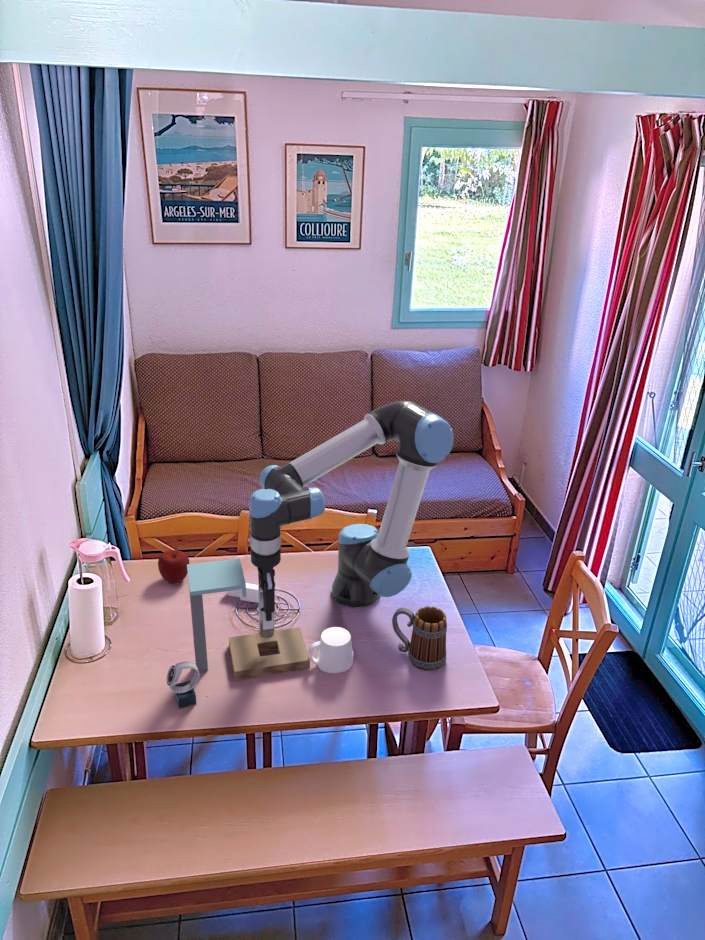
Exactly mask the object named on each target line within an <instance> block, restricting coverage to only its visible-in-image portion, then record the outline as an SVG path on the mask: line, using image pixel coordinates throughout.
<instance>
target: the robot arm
mask: <svg viewBox="0 0 705 940" xmlns="http://www.w3.org/2000/svg"><path fill="white" fill-rule="evenodd" d="M454 437H455V436H454V430H453V428H452V426H451V424H450V423H449V422H448V421H446V420H445V419H444V418H443V417H441V415H439V414H436V413H434V412H432V411H430V410H429V409H426V408H425V407H423V406H421V405H420V404H418V403H417V402H414V401H411V400H398V401H393V402H390V403H387V404H384V405H381V406H379V407H377V408H374V409H373V410H371V411H370V412H367V413H366V414H364V417H363V419H362V420H361V421H359V422H357V423H355V425H352V426H351V427H349V428H348V429H345V430H344V431H342V432H340V433H339V434H336V435H335V436H334V437H331V438H329V439H328V440H327V441H325V442H323V443H321V444H320V445H317V446H316V447H314V448H312V449H311V450H309V451H308V452H305V453H304V454H302V455H300V456H299V457H297V458H296V459H293V460H292V461H290V462H288V463H286V464H284V465H283V466H278V465H276V464H272V465H268V466H266V467H265V468H263V470H262V471H261V472H260V475H259V479H258V481H259V485H260V487H261V488H260V489H257V490H255V491H253V493H251V494H250V498H249V508H248V512H249V526H250V528H249V529H250V531H249V533H250V534H249V535H250V537H249V538H247V540H248V541H247V542H249V543H250V562H251V564H252V565H253V566H254V567H256V569H257V572H258V573H257V574H258V575H257V576H258V585H259V587H258V589H259V588H261V587H263V606H264V608H261V612H262V611H263V630H266V629H273V628H274V629H275V616H274V617H273V612H274V613H276V608H275V606H276V600H275V599H276V598H275V597H276V595H275V592H276V588H275V587H276V581H275V576H276V571H275V568H276V567H277V566H278V565H279V564H280V562H281V561H282V560H281V559H282V558H281V557H282V555H281V554H282V552H281V551H282V549H281V547H282V541H281V540H282V537H281V536H282V533H281V532H282V531H281V529H282V527H283V526H287V525H290V524H293V523H298V522H303V521H307V520H311V519H313V518H316V517H317V518H318V517H319V516H321V515H323V514H324V512H325V510H326V500H325V499H326V498H325V496H324V493H323V492H322V490H321V489H319V488H318V487H315V486H314V487H307V488H305V487H306V486H307V485H309V484H311V483H313V482H314V481H315V480H318V479H319V478H321V477H323V476H324V475H326V474H328V473H329V472H331V471H333V470H334V469H336V468H338V467H339V466H341V465H343V464H345V463H347V462H348V461H349V460H352V459H354V458H355V457H357V456H358V455H360V454H362V453H363V452H365V451H367V450H369V449H370V448H372V447H373V446H376V445H377V444H378V445H381V446H382V445H384V444H386V443H388V442H389V441H390V442H391V441H396V442H397V443H398V445H397V449H396V452H395V455H396V457H397V459H398V461H399V462H398V465H397V469H396V472H395V476H394V479H393V482H392V486H391V489H390V493H389V497H388V500H387V504H386V507H385V511H384V514H383V517H382V521H381V523H380V527H379V530H378V529H377V528H376V527H375V526H373V525H370V524H366V523H354V524H349V525H346V526H344V527H343V528H342V529H341V530H340V531H339V534H338V540H337V543H338V547H337V548H338V551H337V552H338V553H337V554H338V556H337V558H338V559H337V560H338V561H337V572H336V575H335V578H334V580H333V582H332V584H331V596H332V598H333V599H334V600H335V601H336V602H337V603H338V604H341V605H342V606H345V607H349V608H359V609H360V608H365V607H369V606H372V605H374V604H375V603H377V602H378V600H379V599H380V597H383V598H391V597H395V596H397V595H398V594H400V593H401V592H402V591H404V590H405V589H406V588H407V586H409V584H410V582H411V579H412V575H413V573H412V570H411V568H410V566H409V565H408V564H407V563H408V560H409V557H410V550H409V548H408V542H409V539H410V536H411V532H412V529H413V525H414V523H415V520H416V516H417V513H418V510H419V507H420V503H421V499H422V497H423V493H424V491H425V487H426V483H427V480H428V477H429V475H430V471H431V470H432V469H435V468H436V467H437V466H438V463H440V462H442V461H443V460H445V459H446V456H448V455H450V452H451V451H452V449H453V446H454V440H455V438H454Z"/></svg>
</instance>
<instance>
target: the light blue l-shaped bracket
mask: <svg viewBox="0 0 705 940" xmlns="http://www.w3.org/2000/svg"><path fill="white" fill-rule="evenodd" d="M187 570H188V573H187V578H188V588H189V590H188V591H189V600H190V610H191V611H190V613H191V623H192V634H193V635H192V637H193V648H194V658H195V660H194V661H195V665H196V666H197V668H198V671H199V673H200V672H205V671H206V672H207V671H209V665H208V651H207V639H206V638H207V637H206V636H207V635H206V625H205V614H204V600H203V599H204V597H203V595H208V594H216V593H217V594H218V593H224V592H227V591H232V590H240V589H242V594H243V597H246V583H247V582H246V579H245V575H244V571H243V565H242V562H241V558H231V559H223V560H212V561H206V562H199V563H198V562H197V563H189V564H187Z"/></svg>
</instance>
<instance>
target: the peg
mask: <svg viewBox="0 0 705 940" xmlns="http://www.w3.org/2000/svg"><path fill="white" fill-rule="evenodd" d="M258 598H259V603H258V631H259V632H258V633H259V635H260V636H261V637H262V638H271V637H272V636H273V635H274V631H275V627H274V628H273V629H266V630H263V611H262V612H261V608H264V606H263V587H261V588H259V590H258ZM273 617H274V618H275V612H273Z"/></svg>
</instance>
